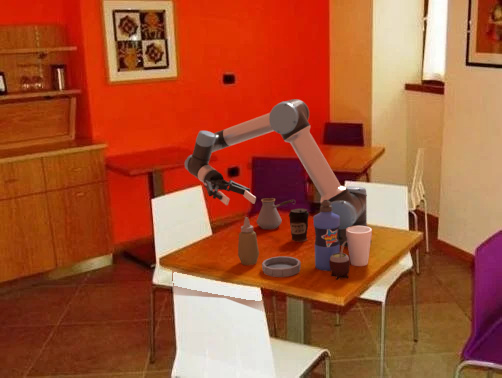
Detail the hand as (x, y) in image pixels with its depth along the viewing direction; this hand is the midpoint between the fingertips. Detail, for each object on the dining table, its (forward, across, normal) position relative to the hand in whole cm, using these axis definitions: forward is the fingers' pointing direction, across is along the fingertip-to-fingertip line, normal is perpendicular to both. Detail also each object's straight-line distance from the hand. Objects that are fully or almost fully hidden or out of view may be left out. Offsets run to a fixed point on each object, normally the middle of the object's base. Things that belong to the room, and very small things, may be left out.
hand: (241, 201), depth 233 cm
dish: (+28, -2, -14) cm, 32 cm away
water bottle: (+37, -16, -9) cm, 41 cm away
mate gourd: (+48, -11, -6) cm, 49 cm away
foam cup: (+43, -26, -5) cm, 50 cm away
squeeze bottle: (+14, +1, -19) cm, 24 cm away
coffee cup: (+8, -32, -16) cm, 36 cm away
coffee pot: (-10, -37, -21) cm, 44 cm away
